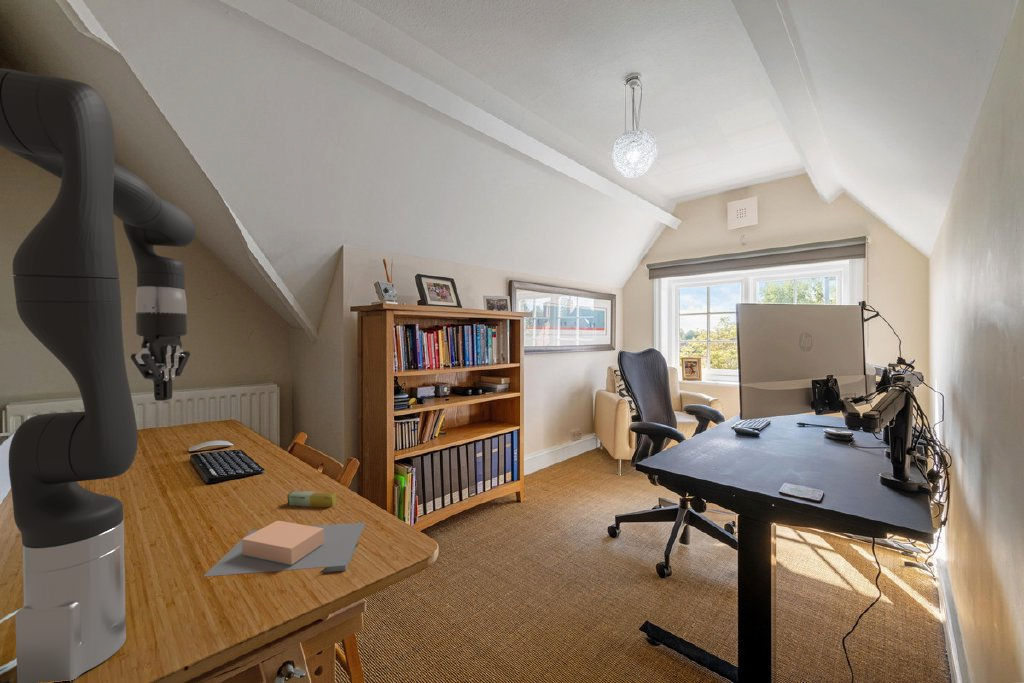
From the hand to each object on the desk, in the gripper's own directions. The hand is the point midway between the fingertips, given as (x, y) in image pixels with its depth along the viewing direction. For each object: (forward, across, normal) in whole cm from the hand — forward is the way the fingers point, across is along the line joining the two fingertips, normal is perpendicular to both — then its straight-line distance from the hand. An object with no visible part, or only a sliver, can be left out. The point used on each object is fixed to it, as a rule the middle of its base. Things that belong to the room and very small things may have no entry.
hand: (163, 399), depth 79 cm
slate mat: (+31, -2, -24) cm, 39 cm away
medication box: (+31, +19, -21) cm, 42 cm away
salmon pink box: (+28, -1, -18) cm, 33 cm away
